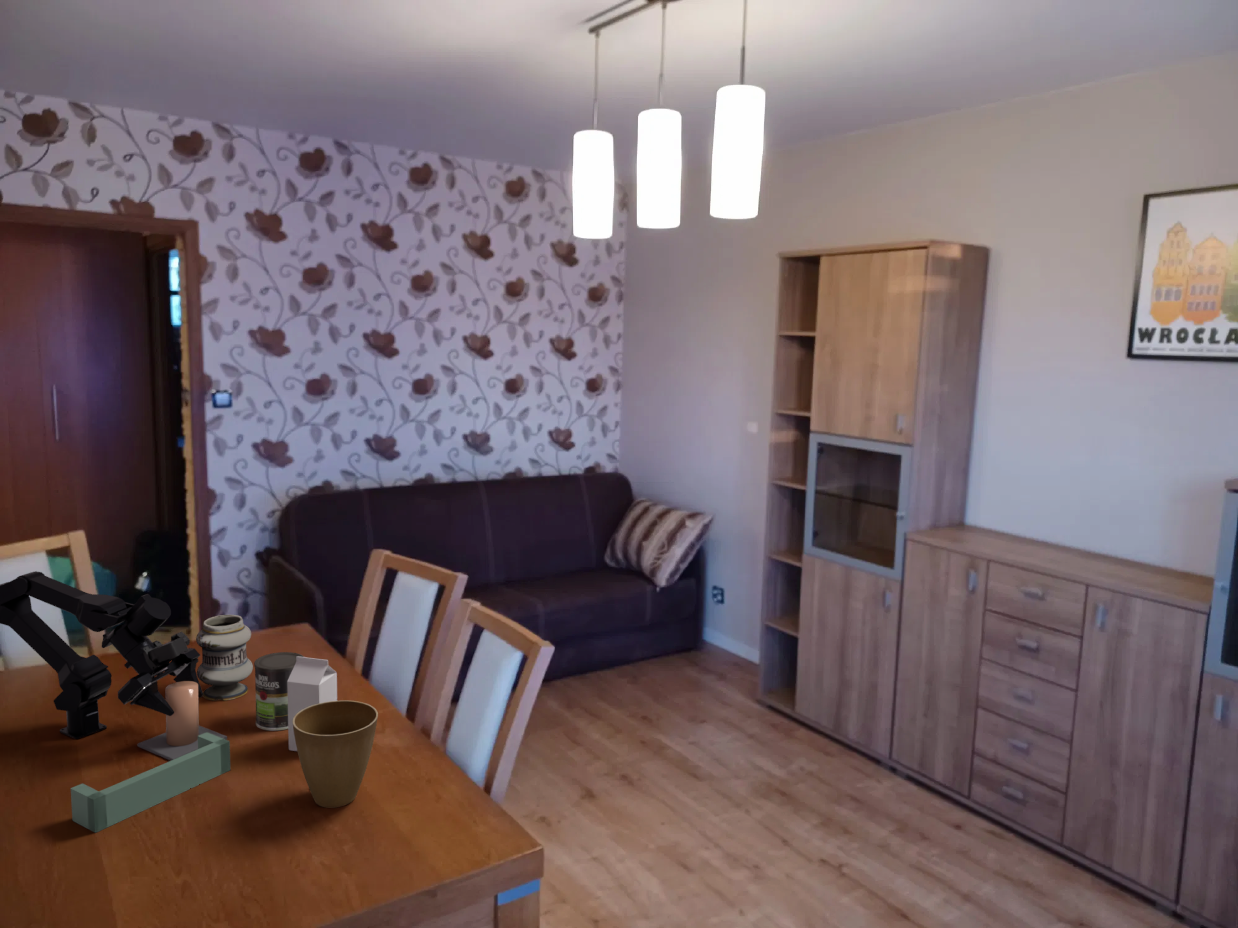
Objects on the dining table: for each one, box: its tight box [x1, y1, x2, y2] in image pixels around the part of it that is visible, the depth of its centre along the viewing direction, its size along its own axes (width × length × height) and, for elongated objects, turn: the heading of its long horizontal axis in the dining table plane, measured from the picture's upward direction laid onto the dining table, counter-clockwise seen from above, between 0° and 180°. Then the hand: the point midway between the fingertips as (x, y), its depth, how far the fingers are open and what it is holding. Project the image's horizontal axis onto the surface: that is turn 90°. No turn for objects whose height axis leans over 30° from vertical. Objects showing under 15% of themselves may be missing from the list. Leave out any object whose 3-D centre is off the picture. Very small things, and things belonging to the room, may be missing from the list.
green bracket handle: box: [70, 732, 231, 834], centre depth 159 cm, size 7×26×6 cm, turn 150°
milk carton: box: [287, 656, 338, 752], centre depth 179 cm, size 7×7×19 cm
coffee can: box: [253, 651, 305, 732], centre depth 190 cm, size 10×10×14 cm
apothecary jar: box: [195, 614, 254, 702], centre depth 204 cm, size 12×12×18 cm
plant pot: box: [292, 699, 379, 809], centre depth 159 cm, size 15×15×16 cm
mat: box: [136, 725, 228, 761], centre depth 180 cm, size 12×12×1 cm
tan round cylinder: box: [165, 681, 200, 746], centre depth 179 cm, size 6×6×12 cm
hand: (187, 705), depth 178 cm, fingers open, 9 cm apart
